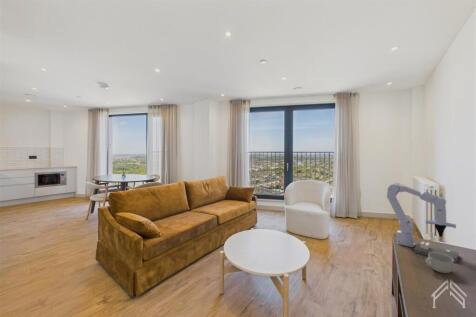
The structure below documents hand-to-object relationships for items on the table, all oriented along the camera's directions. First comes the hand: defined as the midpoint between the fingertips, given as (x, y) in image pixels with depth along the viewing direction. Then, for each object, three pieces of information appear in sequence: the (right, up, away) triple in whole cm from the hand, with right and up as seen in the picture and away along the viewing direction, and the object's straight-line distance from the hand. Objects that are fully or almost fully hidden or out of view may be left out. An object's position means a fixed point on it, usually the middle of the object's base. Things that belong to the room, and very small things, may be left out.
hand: (440, 236), depth 144 cm
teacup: (-21, -12, -21) cm, 32 cm away
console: (-5, -11, -2) cm, 12 cm away
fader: (-9, -8, +2) cm, 12 cm away
